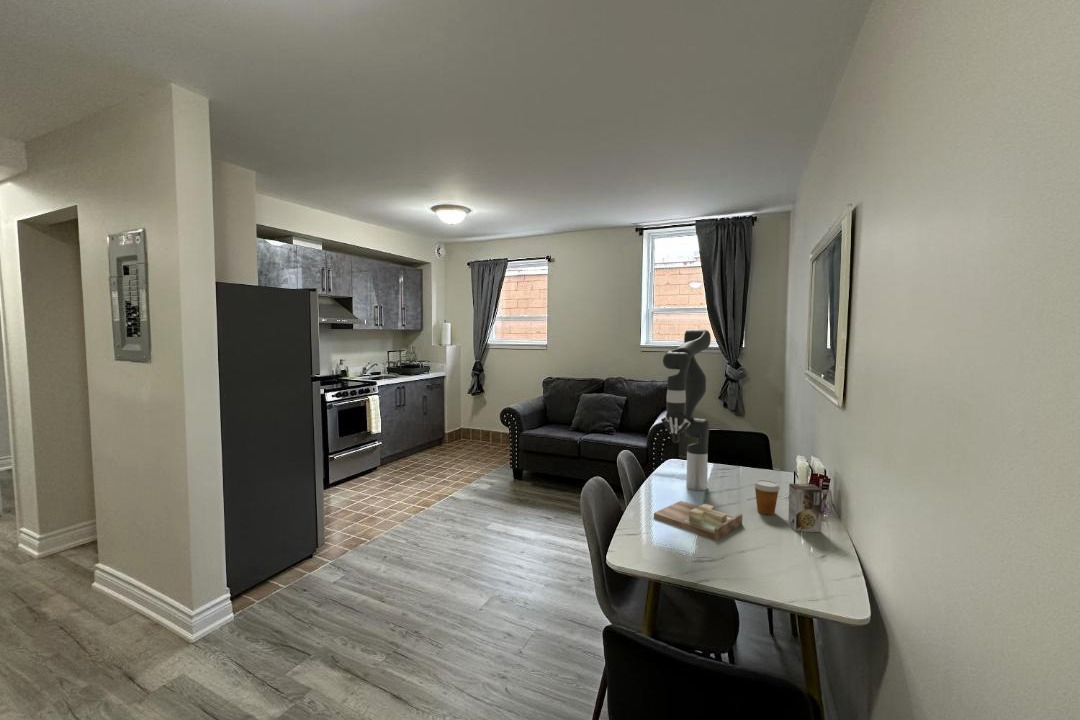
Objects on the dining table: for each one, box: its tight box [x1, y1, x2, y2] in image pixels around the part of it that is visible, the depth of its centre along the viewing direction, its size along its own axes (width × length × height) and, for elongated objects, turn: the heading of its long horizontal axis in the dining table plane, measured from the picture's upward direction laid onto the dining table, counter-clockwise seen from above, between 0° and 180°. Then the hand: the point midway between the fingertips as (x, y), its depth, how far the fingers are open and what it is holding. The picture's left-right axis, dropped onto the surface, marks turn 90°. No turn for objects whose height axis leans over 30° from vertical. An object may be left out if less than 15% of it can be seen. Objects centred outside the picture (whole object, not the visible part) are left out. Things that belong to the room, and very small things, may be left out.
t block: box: [689, 503, 728, 525], centre depth 169 cm, size 12×11×4 cm
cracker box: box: [787, 483, 823, 533], centre depth 167 cm, size 9×6×16 cm
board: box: [653, 500, 743, 541], centre depth 173 cm, size 20×26×4 cm
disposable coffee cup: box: [753, 479, 780, 516], centre depth 183 cm, size 10×10×12 cm
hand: (675, 442), depth 184 cm, fingers closed
